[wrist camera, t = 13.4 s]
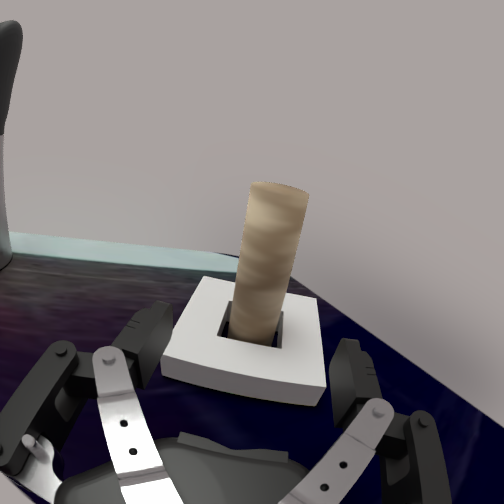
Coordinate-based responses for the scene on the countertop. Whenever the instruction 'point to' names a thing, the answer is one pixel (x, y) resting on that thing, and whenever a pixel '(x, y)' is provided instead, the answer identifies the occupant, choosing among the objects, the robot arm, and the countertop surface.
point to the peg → (266, 260)
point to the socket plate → (247, 349)
